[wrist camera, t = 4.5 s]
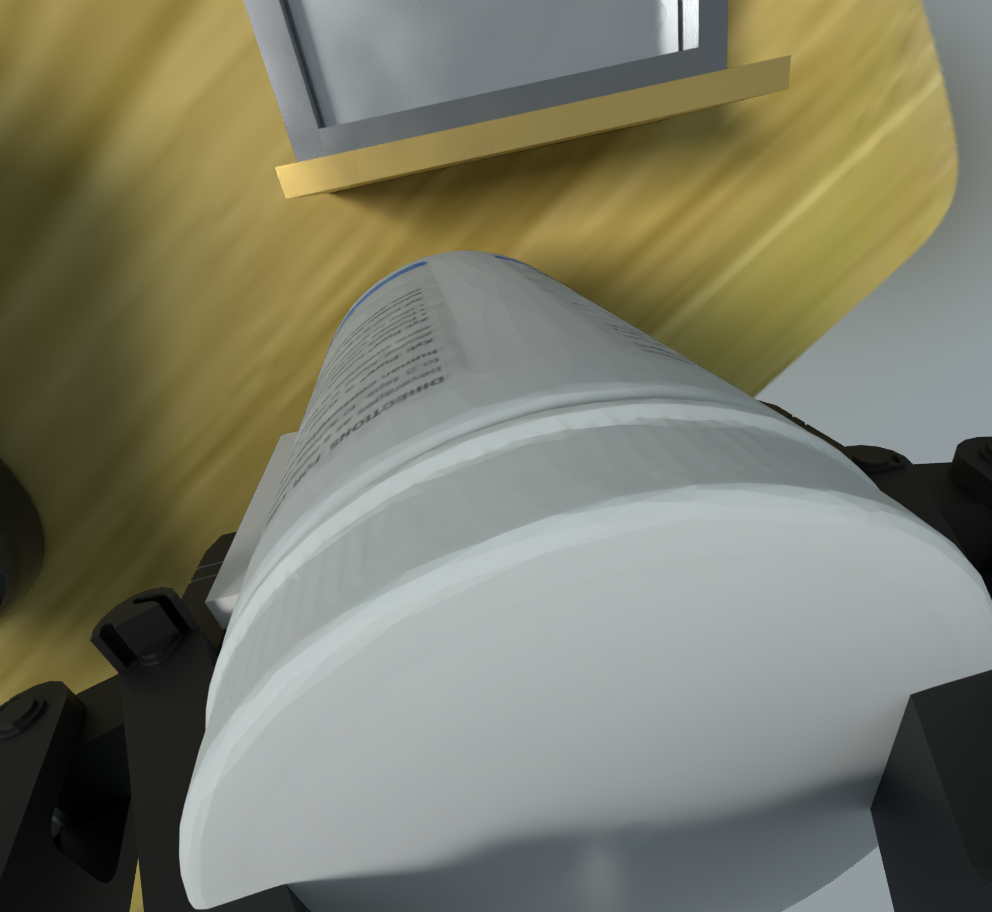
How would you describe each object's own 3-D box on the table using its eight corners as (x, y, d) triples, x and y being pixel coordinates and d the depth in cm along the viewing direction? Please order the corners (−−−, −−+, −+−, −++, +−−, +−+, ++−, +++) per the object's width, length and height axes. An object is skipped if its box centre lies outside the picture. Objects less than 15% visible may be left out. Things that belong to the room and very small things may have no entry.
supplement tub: (369, 519, 20) (318, 1081, 8) (286, 275, 16) (-191, 684, 3) (601, 468, 21) (905, 908, 8) (588, 219, 16) (1232, 365, 4)
